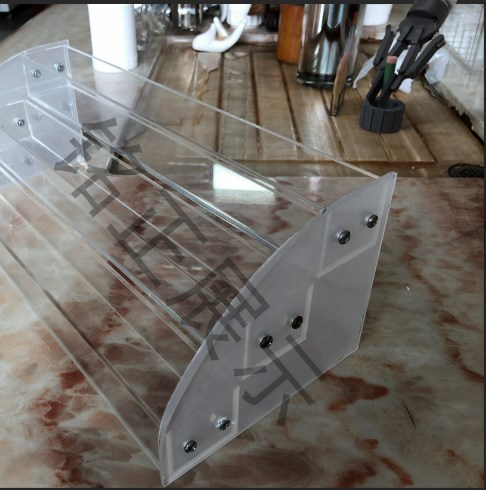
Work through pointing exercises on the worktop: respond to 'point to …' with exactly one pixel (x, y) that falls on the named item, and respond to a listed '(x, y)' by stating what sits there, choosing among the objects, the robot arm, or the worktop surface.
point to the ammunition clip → (339, 87)
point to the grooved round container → (381, 116)
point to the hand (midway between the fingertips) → (374, 101)
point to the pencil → (388, 75)
